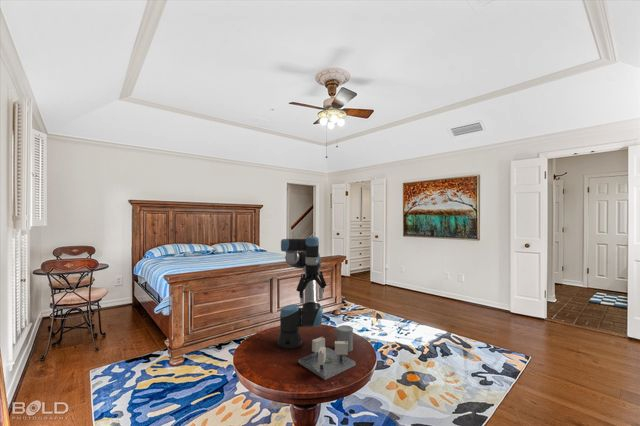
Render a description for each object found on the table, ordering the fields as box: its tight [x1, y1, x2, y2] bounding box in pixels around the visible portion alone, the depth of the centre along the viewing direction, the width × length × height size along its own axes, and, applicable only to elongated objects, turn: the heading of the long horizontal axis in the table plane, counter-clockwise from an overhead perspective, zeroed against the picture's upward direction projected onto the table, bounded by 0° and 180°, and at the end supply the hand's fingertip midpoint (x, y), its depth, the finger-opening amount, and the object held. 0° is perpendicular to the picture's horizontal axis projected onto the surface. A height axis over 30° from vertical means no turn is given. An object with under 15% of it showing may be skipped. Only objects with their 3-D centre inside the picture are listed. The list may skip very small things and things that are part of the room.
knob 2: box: [334, 340, 349, 360], centre depth 167 cm, size 7×3×10 cm, turn 87°
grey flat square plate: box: [297, 347, 357, 381], centre depth 166 cm, size 22×22×3 cm
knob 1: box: [318, 346, 327, 368], centre depth 158 cm, size 7×3×10 cm, turn 169°
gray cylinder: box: [336, 324, 354, 353], centre depth 185 cm, size 10×10×12 cm
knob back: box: [311, 336, 326, 356], centre depth 171 cm, size 7×3×10 cm, turn 130°
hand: (311, 301), depth 174 cm, fingers open, 13 cm apart
